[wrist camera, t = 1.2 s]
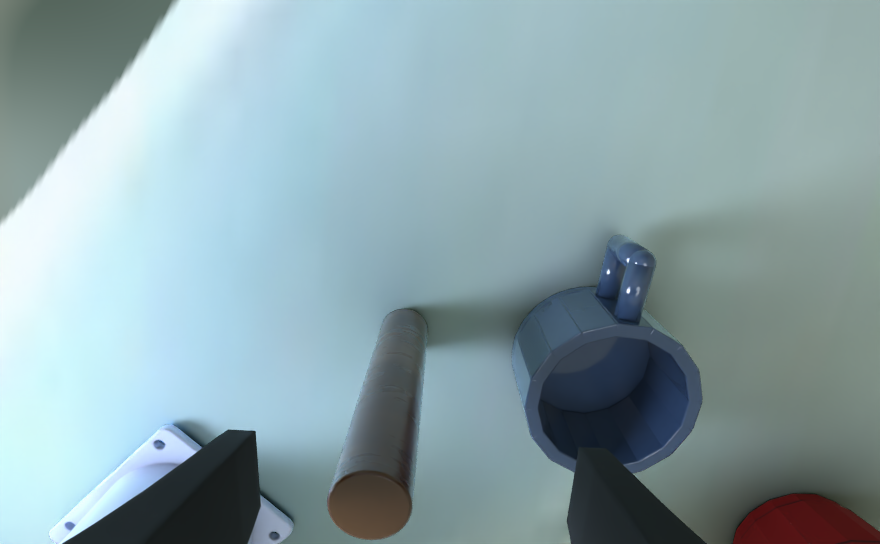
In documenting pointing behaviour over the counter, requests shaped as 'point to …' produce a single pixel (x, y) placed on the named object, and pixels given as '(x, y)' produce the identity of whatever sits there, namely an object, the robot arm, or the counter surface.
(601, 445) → the coffee cup
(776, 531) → the plastic cup
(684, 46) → the counter surface
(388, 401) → the stirrer
